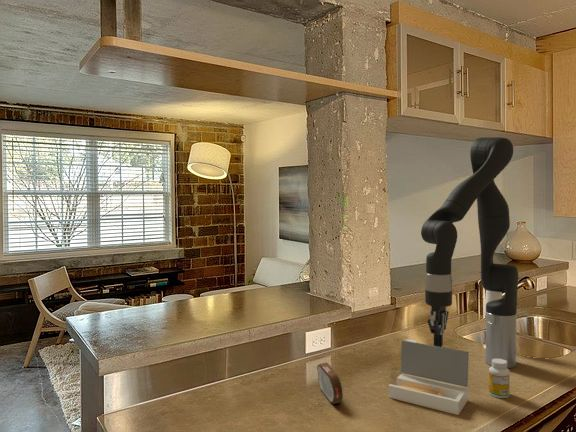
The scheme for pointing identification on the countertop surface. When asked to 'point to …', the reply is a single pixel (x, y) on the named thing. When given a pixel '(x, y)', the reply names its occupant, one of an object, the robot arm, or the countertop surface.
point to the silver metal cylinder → (491, 299)
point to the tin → (329, 383)
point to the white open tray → (448, 402)
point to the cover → (435, 363)
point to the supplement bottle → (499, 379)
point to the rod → (424, 391)
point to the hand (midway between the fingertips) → (438, 346)
